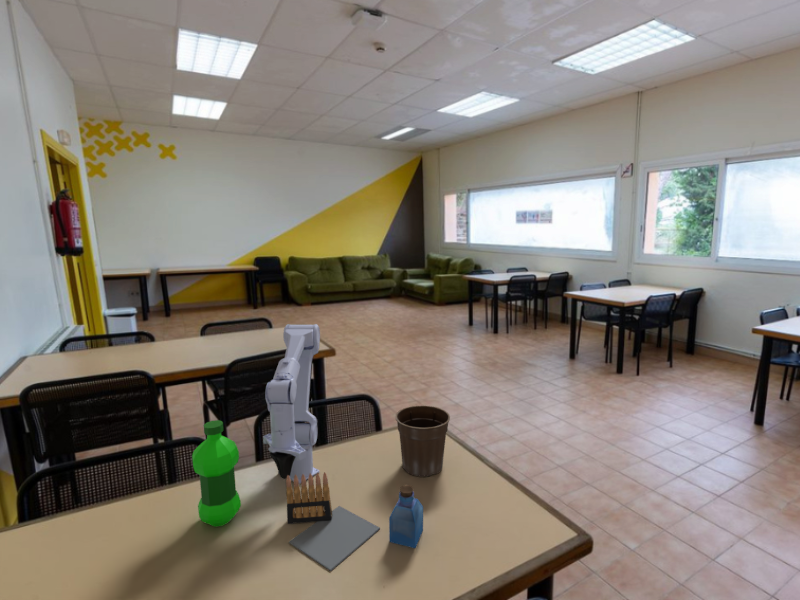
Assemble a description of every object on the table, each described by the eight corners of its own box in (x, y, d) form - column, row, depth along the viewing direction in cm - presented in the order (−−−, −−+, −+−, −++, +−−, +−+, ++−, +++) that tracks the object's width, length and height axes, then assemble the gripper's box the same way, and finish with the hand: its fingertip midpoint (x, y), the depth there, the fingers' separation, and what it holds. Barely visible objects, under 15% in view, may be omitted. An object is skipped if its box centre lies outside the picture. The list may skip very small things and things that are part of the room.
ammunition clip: (332, 515, 106) (328, 469, 105) (331, 520, 104) (328, 473, 103) (289, 519, 106) (284, 473, 104) (287, 523, 104) (283, 477, 102)
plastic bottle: (250, 518, 106) (244, 423, 102) (207, 540, 98) (199, 438, 94) (231, 501, 113) (225, 411, 109) (190, 520, 105) (181, 425, 101)
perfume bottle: (423, 530, 102) (423, 483, 100) (415, 548, 96) (415, 499, 94) (398, 524, 104) (398, 479, 102) (389, 542, 98) (389, 494, 96)
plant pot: (399, 450, 138) (399, 403, 136) (449, 454, 136) (450, 406, 133) (391, 479, 122) (391, 426, 120) (448, 483, 120) (449, 429, 118)
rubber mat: (289, 543, 97) (288, 541, 97) (339, 507, 110) (339, 505, 110) (330, 571, 89) (330, 569, 89) (379, 529, 102) (379, 527, 102)
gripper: (251, 424, 108) (254, 474, 110) (288, 441, 99) (290, 494, 101) (275, 414, 114) (277, 462, 116) (311, 430, 105) (313, 480, 107)
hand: (285, 476), depth 109 cm, fingers closed
